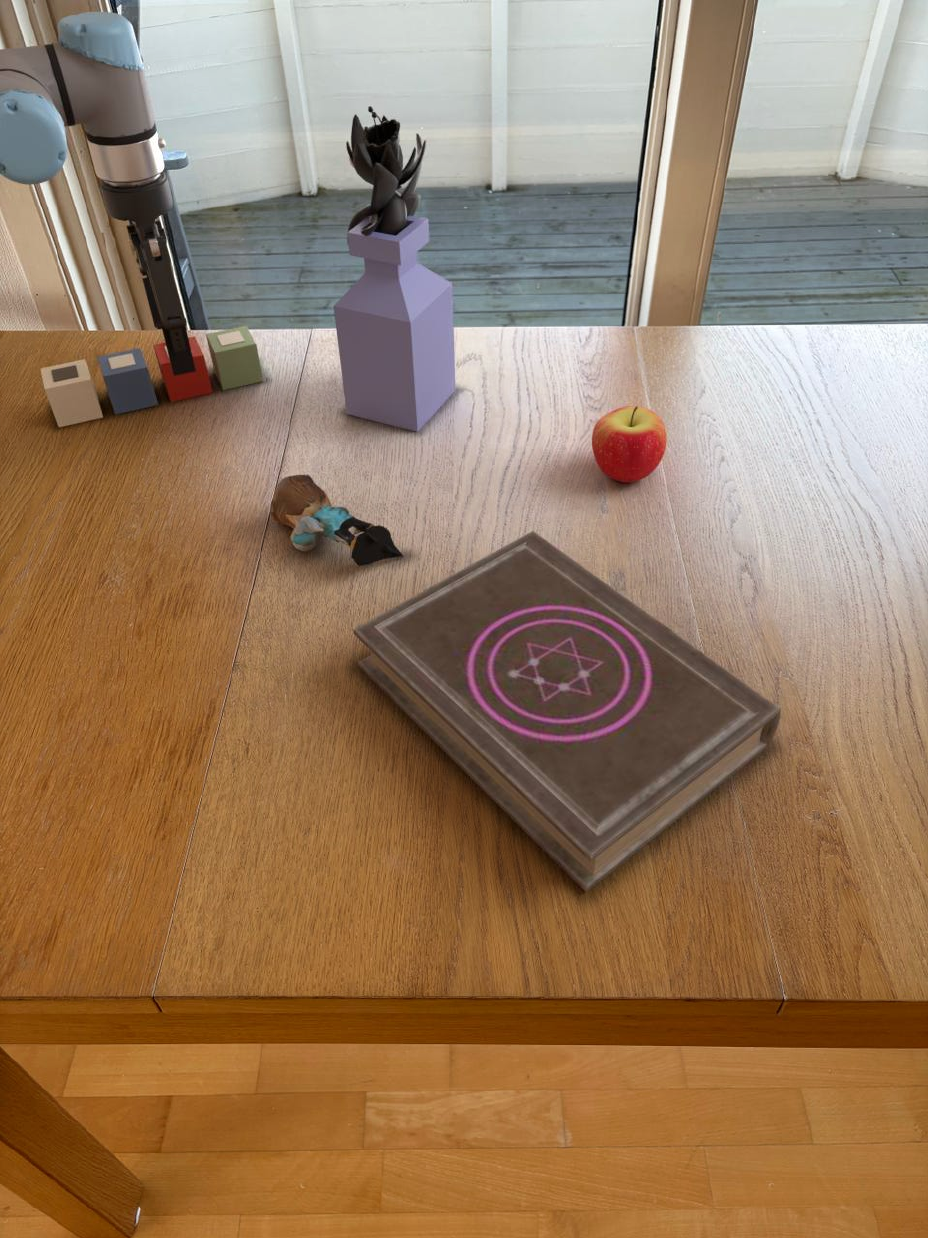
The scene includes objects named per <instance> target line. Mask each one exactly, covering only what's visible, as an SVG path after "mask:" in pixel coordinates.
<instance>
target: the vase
mask: <svg viewBox="0 0 928 1238" xmlns="http://www.w3.org/2000/svg"><path fill="white" fill-rule="evenodd" d="M367 108H368V109H367V111H368V113H370V114H371V118H372V119H373V122H374V124H373V125H371V126H369V127H368V126H367V125H366V126H363V125H362V123H361V120H360V119H359V118H360V117H359V116H358V115H357V114H356V113H355V114H354V116H353V118H352V124H351V130H350V131H351V132H350V133H351V134H350V143H349V140H347V141H346V143H345V147H346V151H347V154H348V156H349V157H348V158H349V159H348V161H349V164H350V165H351V167H352V168H353V169H354V170H355V172H356V175H358V176H359V177H360V178H361V179H362V180H363V181H364V182H366V183H368V184H370V185H372V193H371V194H372V195H371V200H370V203H369V204H368V205H366V206H364V207H362V208H361V209H359V210H357V212H355V214H354V215H353V216H352V218H351V220H350V222H349V224H348V226H347V227H348V229H347V233H346V238H347V239H346V243H347V245H348V251H349V252H348V253H349V256H351V257H356V258H362V259H363V263H364V271H365V272H364V273H363V274H362V275H361V277H359V279H358V280H356V281H355V283H354V284H353V285H352V286H351V287H350V288H349V289H348V290H347V291H346V292H345V293H344V294H343V295H342V296H341V298H340V299H338V301H336V303H335V304H334V305H333V314H334V322H335V323H334V324H335V328H336V337H337V346H338V347H337V348H338V354H339V360H340V361H339V362H340V369H341V378H342V384H343V395H344V402H345V403H344V404H345V410H346V411H345V412H346V415H349V416H354V417H357V418H360V419H361V418H362V419H365V420H369V421H373V422H377V423H381V424H385V425H389V426H392V427H397V428H400V429H404V430H408V431H411V432H417V433H418V432H419V431H420V430H422V428H423V427H424V426H425V425H426V424H427V422H429V420H430V419H431V418H432V417H433V416H434V415H435V414H436V413H437V411H438V410H439V409H440V408H441V407H443V405H444V404H445V403H446V401H447V400H449V398H450V397H451V396H452V395H453V394H454V392H456V390H457V389H456V388H457V387H456V359H455V358H456V356H455V355H456V354H455V327H454V326H455V325H454V295H453V294H454V293H453V283H452V282H451V281H449V280H447V279H446V278H444V277H442V276H441V275H439V274H437V273H436V272H434V271H433V270H431V269H430V268H427V267H426V266H424V265H422V264H421V263H419V261H418V260H419V259H418V252H419V251H421V249H422V248H423V247H425V245H427V244H428V243H429V242H430V225H429V224H430V223H429V218H427V217H422V216H421V217H420V216H416V212H417V210H418V209H419V207H420V203H421V198H422V197H421V194H418V193H415V191H416V189H417V187H418V184H419V181H420V177H421V174H422V170H423V166H424V165H423V164H424V156H425V152H426V149H427V140H426V139H424V141H422V137H421V136H420V134H419V133H416V134H415V139H416V146H414V147H413V149H412V152H411V155H410V156H409V159H408V161H407V163H406V164H405V166H404V156H403V150H402V147H401V144H400V141H401V123H400V121H397V120H396V118H394V119H393V118H392V119H390V120H389V119H388V118H387V116H385V114H383V116H382V117H380V116H379V115H378V114H377V112H376V111H374V108H373V107H372V106H368V107H367ZM376 118H377V119H378V122H379V123H378V124H377V123H376ZM405 184H406V185H405ZM402 185H405V187H404V188H403V186H402ZM401 188H403V190H402V192H401V194H400V192H399V191H397V190H400V189H401Z"/></svg>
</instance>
